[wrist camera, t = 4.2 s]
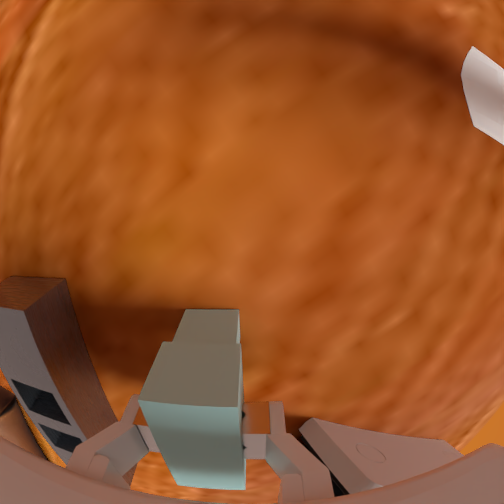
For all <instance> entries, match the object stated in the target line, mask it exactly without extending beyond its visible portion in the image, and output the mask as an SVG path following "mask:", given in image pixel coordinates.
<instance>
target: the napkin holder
mask: <svg viewBox="0 0 504 504" xmlns="http://www.w3.org/2000/svg"><path fill="white" fill-rule="evenodd" d="M299 431H300V432H301V434H302V436H301V439H302V441H303V442H304V443H305V445H304V444H302V445H303V446H304V447H305V448H306V449H307V450H308V451H309V452H310V453H312V454H313V455H314V456H315V457H316V458H317V459H318V460H319V461H320V462H321V463H323V464H324V465H325V466H326V467H327V468H328V469H329V472H330V477H331V482H332V487H333V492H334V497H338V496H343V495H348V494H353V493H358V492H362V491H367V490H371V489H375V488H379V487H382V486H386V485H389V484H393V483H396V482H399V481H403V480H406V479H409V478H412V477H414V476H417V475H420V474H423V473H425V472H428V471H431V470H433V469H436V468H438V467H440V466H443V465H445V464H447V463H450V462H452V461H454V460H456V459H459V458H461V457H463V456H464V455H462V454H461V453H460V452H459V451H457V450H456V449H455V448H453V447H452V446H451V445H450V444H448V443H447V442H446V441H444V440H437V439H426V438H416V437H408V436H400V435H393V434H387V433H381V432H375V431H370V430H364V429H359V428H354V427H350V426H345V425H341V424H336V423H332V422H328V421H324V420H320V419H316V418H313V417H312V418H311V419H309V420H308V421H306V422H305V423H304V424H303V425H302V426H301V427H300V428H299Z"/></svg>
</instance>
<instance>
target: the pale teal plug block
mask: <svg viewBox="0 0 504 504" xmlns="http://www.w3.org/2000/svg"><path fill="white" fill-rule="evenodd" d="M138 402H139V405H140V407H141V410H142V412H143V415H144V417H145V419H146V422H147V424H148V426H149V429H150V431H151V433H152V435H153V438H154V440H155V442H156V444H157V446H158V448H159V450H160V452H161V454H162V456H163V458H164V460H165V462H166V464H167V466H168V468H169V470H170V472H171V474H172V476H173V477H174V479H175V481H176V483H177V485H181V486H189V487H198V488H210V489H228V490H245V482H246V459H244V458H243V445H242V435H241V431H242V419H243V415H242V404H243V402H244V391H243V372H242V353H241V343H240V320H239V309H186V310H185V312H184V315H183V317H182V319H181V322H180V324H179V327H178V329H177V331H176V334H175V336H174V339H173V341H172V342H165V341H163V342H162V345H161V347H160V349H159V351H158V354H157V356H156V358H155V360H154V363H153V365H152V367H151V369H150V372H149V374H148V376H147V379H146V381H145V383H144V386H143V388H142V390H141V393H140V395H139V397H138Z"/></svg>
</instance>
